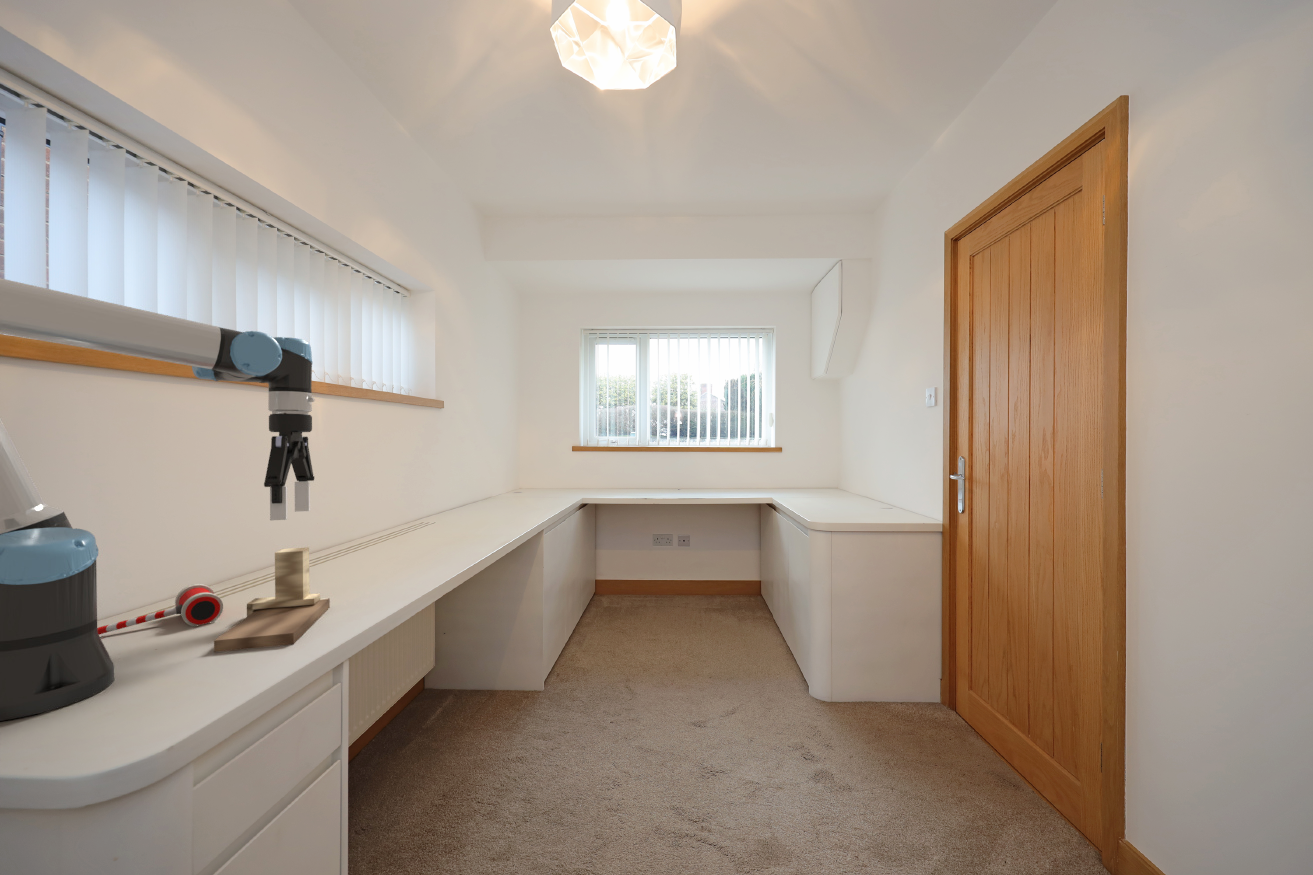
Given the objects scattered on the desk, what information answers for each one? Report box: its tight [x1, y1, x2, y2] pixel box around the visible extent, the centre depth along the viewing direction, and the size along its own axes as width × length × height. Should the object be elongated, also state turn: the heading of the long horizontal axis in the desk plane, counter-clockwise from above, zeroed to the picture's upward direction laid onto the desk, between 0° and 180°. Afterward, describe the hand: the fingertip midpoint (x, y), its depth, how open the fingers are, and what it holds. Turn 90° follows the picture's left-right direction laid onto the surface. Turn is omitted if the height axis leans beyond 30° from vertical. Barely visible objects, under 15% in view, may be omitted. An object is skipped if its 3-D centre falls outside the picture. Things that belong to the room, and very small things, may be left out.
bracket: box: [246, 546, 321, 617], centre depth 114 cm, size 12×4×13 cm, turn 106°
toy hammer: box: [97, 583, 224, 635], centre depth 107 cm, size 23×12×6 cm, turn 137°
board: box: [213, 598, 331, 653], centre depth 107 cm, size 12×22×2 cm, turn 16°
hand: (291, 515), depth 115 cm, fingers open, 13 cm apart
